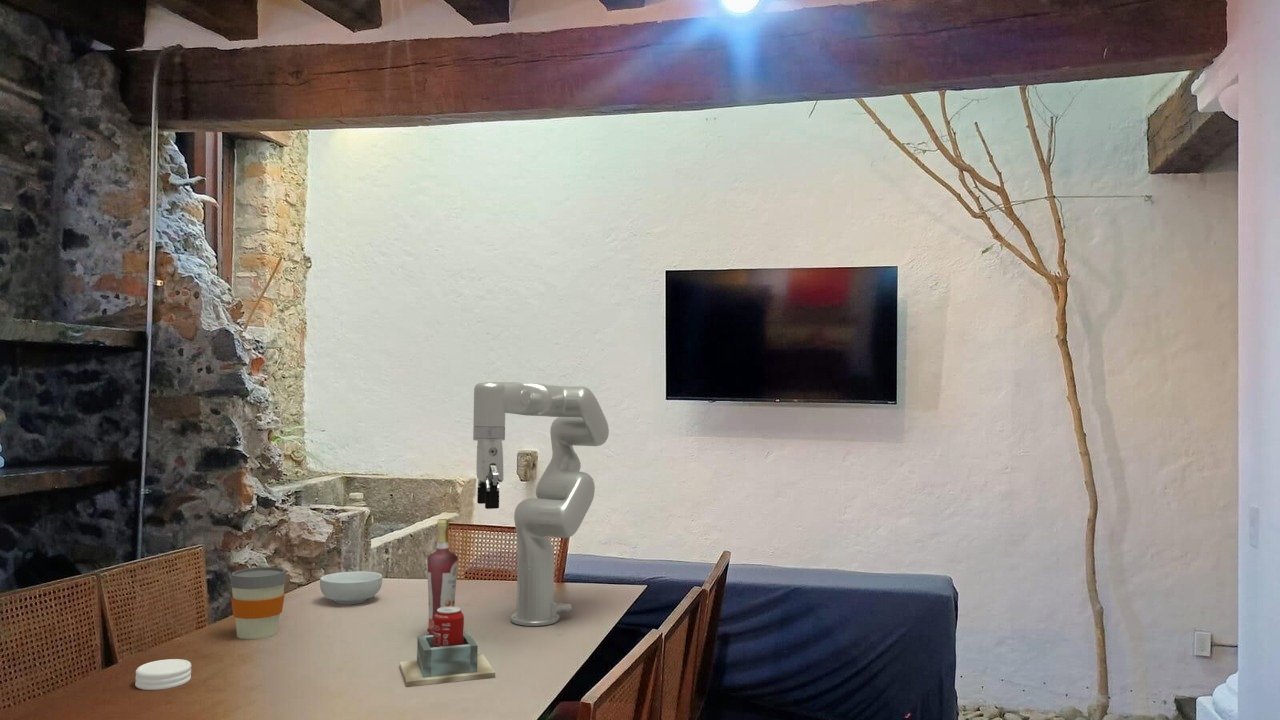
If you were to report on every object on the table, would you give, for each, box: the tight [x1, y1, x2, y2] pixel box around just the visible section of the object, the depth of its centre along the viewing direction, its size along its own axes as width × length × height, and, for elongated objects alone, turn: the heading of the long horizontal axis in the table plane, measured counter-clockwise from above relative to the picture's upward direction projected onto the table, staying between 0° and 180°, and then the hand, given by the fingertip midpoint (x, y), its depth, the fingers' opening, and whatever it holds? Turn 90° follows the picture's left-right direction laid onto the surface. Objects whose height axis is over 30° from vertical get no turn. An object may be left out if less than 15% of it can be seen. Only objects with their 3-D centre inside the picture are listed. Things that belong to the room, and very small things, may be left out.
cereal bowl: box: [319, 570, 383, 605], centre depth 248 cm, size 17×17×7 cm
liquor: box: [426, 518, 458, 635], centre depth 215 cm, size 7×7×28 cm
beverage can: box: [433, 606, 465, 647], centre depth 188 cm, size 6×6×12 cm
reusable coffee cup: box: [230, 566, 287, 640], centre depth 214 cm, size 13×13×15 cm
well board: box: [399, 631, 496, 688], centre depth 187 cm, size 18×14×6 cm
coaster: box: [134, 658, 192, 691], centre depth 179 cm, size 10×10×4 cm
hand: (487, 505), depth 210 cm, fingers open, 9 cm apart
